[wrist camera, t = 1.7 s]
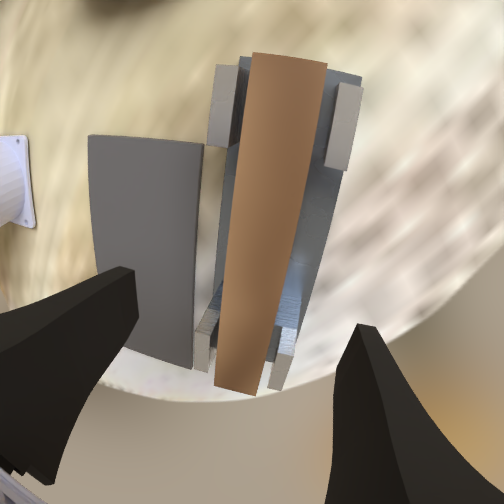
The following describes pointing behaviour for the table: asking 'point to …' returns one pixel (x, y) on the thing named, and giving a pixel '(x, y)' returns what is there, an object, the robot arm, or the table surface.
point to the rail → (265, 209)
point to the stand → (311, 214)
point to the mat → (150, 233)
